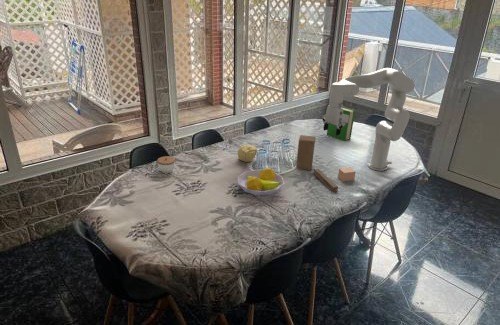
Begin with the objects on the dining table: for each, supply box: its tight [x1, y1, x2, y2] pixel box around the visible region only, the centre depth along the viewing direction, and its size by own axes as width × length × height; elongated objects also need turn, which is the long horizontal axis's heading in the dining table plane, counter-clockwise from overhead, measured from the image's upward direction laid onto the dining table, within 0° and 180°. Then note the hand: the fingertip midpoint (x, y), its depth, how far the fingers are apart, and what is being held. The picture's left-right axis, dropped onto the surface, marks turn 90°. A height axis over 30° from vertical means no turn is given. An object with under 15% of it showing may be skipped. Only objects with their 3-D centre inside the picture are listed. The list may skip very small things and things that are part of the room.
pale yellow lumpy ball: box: [237, 144, 258, 163], centre depth 243 cm, size 11×12×11 cm
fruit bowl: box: [237, 167, 285, 196], centre depth 206 cm, size 28×27×11 cm
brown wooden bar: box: [313, 168, 339, 193], centre depth 220 cm, size 3×24×3 cm, turn 18°
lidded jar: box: [156, 155, 176, 174], centre depth 223 cm, size 11×11×9 cm
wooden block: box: [295, 134, 316, 171], centre depth 235 cm, size 10×10×20 cm
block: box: [337, 167, 356, 182], centre depth 224 cm, size 8×6×6 cm
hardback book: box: [326, 106, 356, 142], centre depth 287 cm, size 18×7×24 cm, turn 43°
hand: (331, 132), depth 218 cm, fingers open, 9 cm apart
